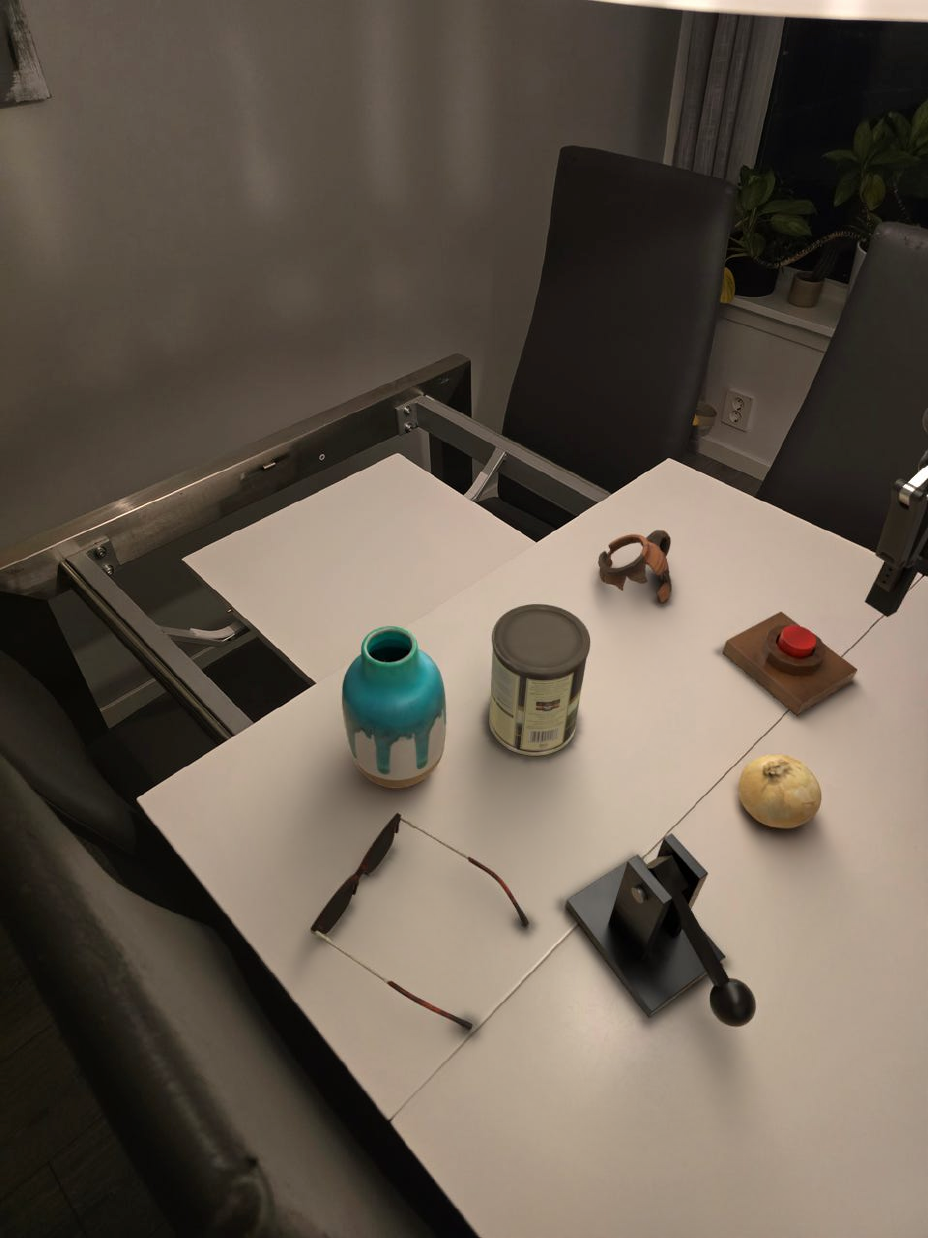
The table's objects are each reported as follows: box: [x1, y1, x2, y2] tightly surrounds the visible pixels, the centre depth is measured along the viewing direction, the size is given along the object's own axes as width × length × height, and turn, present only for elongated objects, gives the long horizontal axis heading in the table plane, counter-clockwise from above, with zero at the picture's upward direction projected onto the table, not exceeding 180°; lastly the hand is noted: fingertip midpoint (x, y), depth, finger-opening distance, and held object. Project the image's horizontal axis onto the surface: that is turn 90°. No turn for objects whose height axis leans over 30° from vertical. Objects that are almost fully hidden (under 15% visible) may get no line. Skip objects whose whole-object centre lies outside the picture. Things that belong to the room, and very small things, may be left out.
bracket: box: [565, 833, 726, 1018], centre depth 69 cm, size 12×9×13 cm
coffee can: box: [488, 603, 591, 757], centre depth 87 cm, size 10×10×14 cm
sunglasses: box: [309, 812, 530, 1030], centre depth 72 cm, size 14×16×5 cm
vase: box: [341, 625, 448, 789], centre depth 80 cm, size 11×11×19 cm
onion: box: [738, 754, 822, 830], centre depth 81 cm, size 8×8×7 cm
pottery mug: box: [597, 529, 673, 604], centre depth 108 cm, size 12×10×8 cm
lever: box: [645, 855, 757, 1028], centre depth 65 cm, size 14×4×4 cm, turn 32°
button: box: [778, 625, 816, 659], centre depth 95 cm, size 4×4×2 cm
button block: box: [722, 611, 859, 716], centre depth 97 cm, size 12×10×4 cm
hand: (880, 606), depth 79 cm, fingers closed
